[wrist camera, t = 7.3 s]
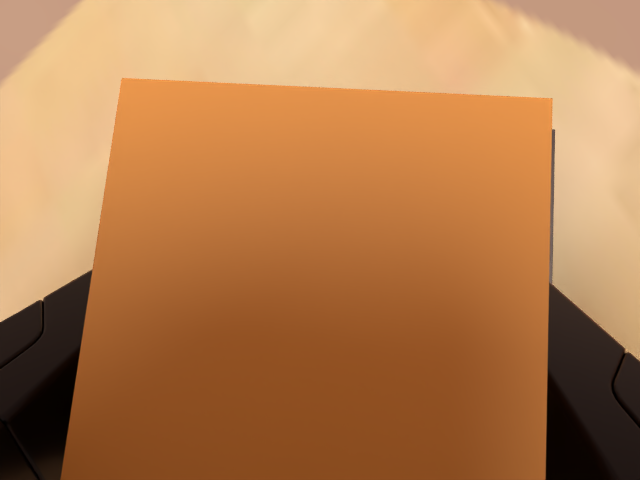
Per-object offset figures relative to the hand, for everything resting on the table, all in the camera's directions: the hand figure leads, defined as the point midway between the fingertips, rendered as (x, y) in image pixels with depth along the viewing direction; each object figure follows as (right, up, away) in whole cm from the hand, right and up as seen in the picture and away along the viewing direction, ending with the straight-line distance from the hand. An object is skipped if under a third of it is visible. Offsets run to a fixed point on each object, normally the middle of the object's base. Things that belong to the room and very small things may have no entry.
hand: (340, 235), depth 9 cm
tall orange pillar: (0, -2, +6) cm, 7 cm away
